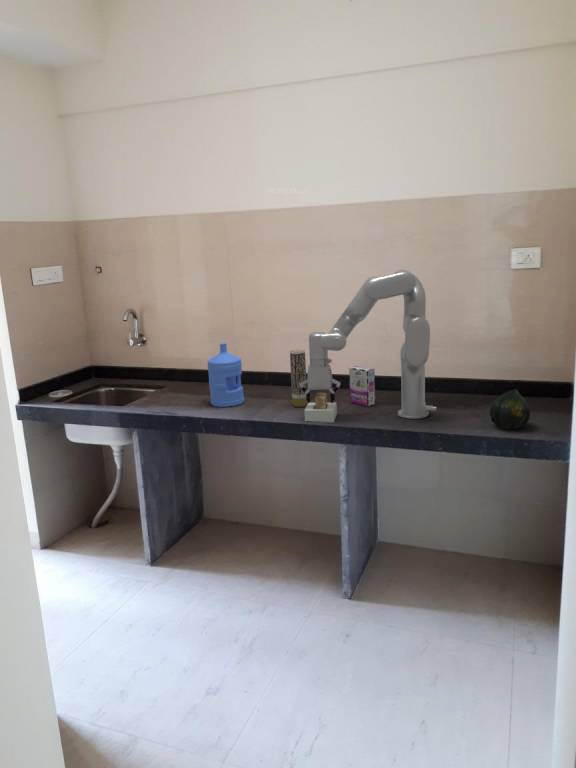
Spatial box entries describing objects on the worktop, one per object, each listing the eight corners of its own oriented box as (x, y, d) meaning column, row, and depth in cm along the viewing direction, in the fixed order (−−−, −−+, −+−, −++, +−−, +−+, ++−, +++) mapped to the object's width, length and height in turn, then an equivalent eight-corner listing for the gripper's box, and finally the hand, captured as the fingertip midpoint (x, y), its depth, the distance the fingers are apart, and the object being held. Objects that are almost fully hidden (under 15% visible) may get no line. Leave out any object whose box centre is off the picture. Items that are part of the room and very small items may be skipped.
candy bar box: (375, 404, 283) (375, 368, 279) (368, 407, 279) (367, 370, 275) (357, 400, 291) (356, 365, 287) (349, 402, 288) (348, 367, 284)
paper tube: (289, 405, 288) (286, 351, 282) (300, 402, 292) (298, 349, 286) (299, 408, 283) (296, 353, 277) (310, 405, 287) (308, 350, 281)
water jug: (205, 407, 292) (200, 347, 285) (217, 398, 307) (212, 341, 300) (238, 408, 288) (233, 347, 281) (248, 398, 303) (244, 341, 296)
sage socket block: (336, 413, 272) (336, 402, 270) (333, 422, 260) (333, 410, 259) (309, 413, 274) (308, 402, 273) (304, 422, 262) (304, 410, 261)
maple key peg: (327, 415, 269) (326, 393, 267) (325, 420, 264) (324, 396, 261) (318, 415, 270) (317, 393, 268) (316, 420, 264) (315, 397, 262)
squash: (485, 418, 237) (514, 389, 233) (480, 408, 252) (507, 380, 248) (514, 443, 237) (543, 413, 234) (507, 431, 252) (534, 404, 248)
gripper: (340, 360, 263) (342, 399, 267) (299, 360, 266) (301, 400, 271) (339, 364, 256) (340, 404, 260) (296, 364, 259) (298, 404, 263)
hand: (320, 402), depth 265 cm, fingers open, 9 cm apart
